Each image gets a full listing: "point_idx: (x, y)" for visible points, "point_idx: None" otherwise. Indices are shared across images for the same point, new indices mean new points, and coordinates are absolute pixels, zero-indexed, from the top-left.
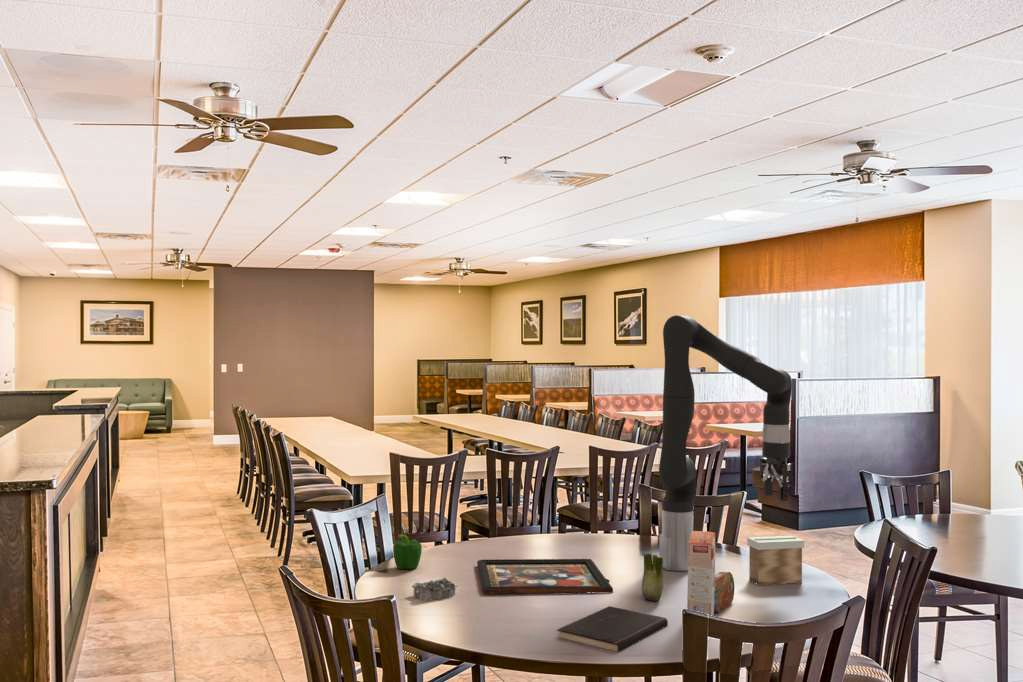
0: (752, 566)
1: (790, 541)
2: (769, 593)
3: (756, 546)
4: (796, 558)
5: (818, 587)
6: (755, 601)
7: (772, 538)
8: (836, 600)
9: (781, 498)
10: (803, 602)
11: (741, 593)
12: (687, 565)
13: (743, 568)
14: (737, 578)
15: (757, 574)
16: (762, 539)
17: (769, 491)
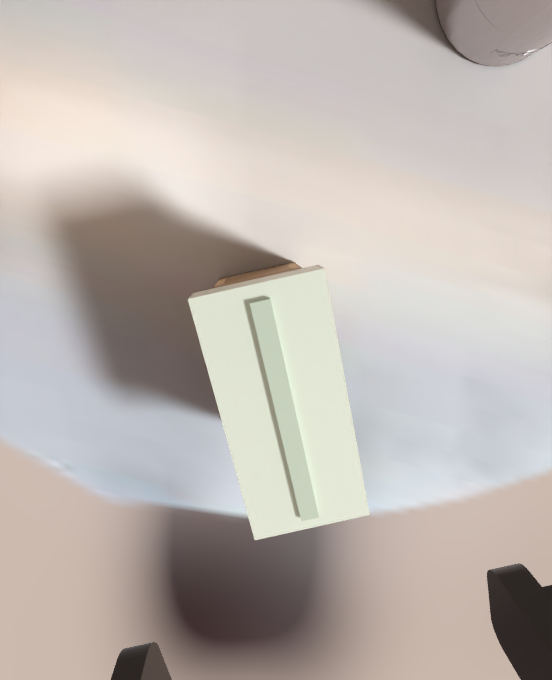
0: (273, 272)
1: (237, 473)
2: (119, 286)
3: (216, 289)
4: None
5: (210, 464)
6: (3, 204)
7: (273, 399)
8: (63, 472)
9: (116, 673)
10: (22, 368)
11: (106, 179)
12: (450, 12)
13: (461, 285)
14: (320, 222)
15: (231, 279)
16: (258, 340)
17: (518, 649)
